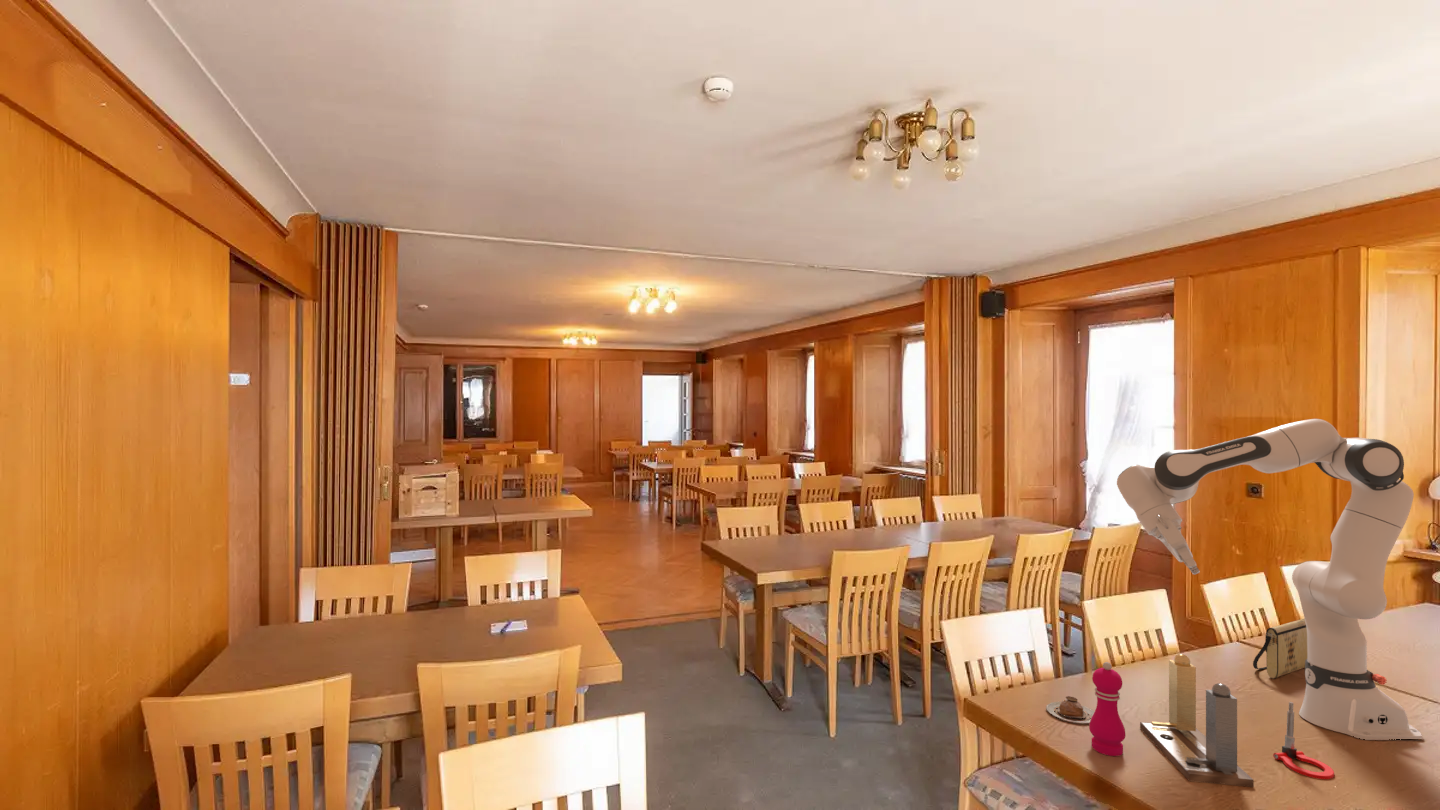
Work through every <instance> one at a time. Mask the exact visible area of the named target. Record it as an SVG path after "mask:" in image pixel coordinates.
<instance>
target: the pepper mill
mask: <svg viewBox="0 0 1440 810" xmlns="http://www.w3.org/2000/svg"><path fill="white" fill-rule="evenodd" d="M1091 679H1092V683H1093V684H1094V685H1095V688H1094V691H1095V692H1094V695H1095V696H1096V700H1097V701H1096V707H1095V710H1094V714H1093V716H1092V718H1091V720H1090V723H1089V724H1088V726H1089V732H1090V734H1091V736H1093V737H1092V738H1091V747H1092V749H1093V750H1094V751H1096V752H1098V753H1099V754H1102V755H1105V756H1110V757H1120V756H1122V755H1123V754H1124V744H1123V743H1122V742H1123V741H1124V740H1125V738H1126V728H1125V725H1124V724H1123V721H1122V718H1121V717H1120V715H1119V710H1118V701H1119V700H1121V697H1120V694H1121V693H1120V690H1121V689H1122V687H1123V679H1122V676H1121V675H1120V673H1118V672H1117V671H1116V670H1114V669H1112V664H1111V663H1110V662H1108V661H1104V662H1103V663H1102V667H1099V668H1097V669H1095V670H1094V672H1093V673H1092V677H1091Z"/></svg>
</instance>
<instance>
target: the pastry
mask: <svg viewBox="0 0 1440 810" xmlns="http://www.w3.org/2000/svg"><path fill="white" fill-rule="evenodd" d="M1045 707H1046V708H1045V709H1046V711H1047V712H1048V713H1049V715H1051V714H1052V716H1053V717H1055V718H1056V717H1057V718H1056V719H1058V718H1059V719H1058V720H1060V719H1061V720H1060V721H1062V720H1065V721H1064V722H1066V721H1069V722H1068V723H1070V722H1073V723H1072V724H1088V725H1089V724H1090V720H1091V719H1090V718H1089V719H1090V720H1089V719H1088V720H1083V719H1085V718H1086V717H1087V715H1088V714H1090V716H1091V718H1092V716H1093V714H1094V712H1095V710H1093V709H1091V708H1090V707H1088V706H1085V705H1082V704H1081V703H1080V702H1079V701H1078V699H1077V698H1076V697H1074V696H1069V695H1067V696H1065V699H1062V700H1061V701H1054V702H1050V703H1048V704H1047V705H1046V706H1045ZM1056 707H1059V708H1058V709H1057V712H1058V713H1059V715H1058V714H1057V713H1056V711H1055V712H1054V709H1055V708H1056ZM1084 711H1086V712H1087V713H1088V714H1086V713H1085V712H1084ZM1060 714H1061V715H1060ZM1062 715H1063V716H1062ZM1064 715H1065V716H1066V717H1064ZM1069 717H1071V718H1070V719H1068V718H1069ZM1076 718H1079V719H1080V720H1081V721H1080V720H1079V719H1078V720H1079V721H1078V720H1071V719H1076ZM1082 718H1083V719H1082Z"/></svg>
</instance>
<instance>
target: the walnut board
mask: <svg viewBox="0 0 1440 810" xmlns="http://www.w3.org/2000/svg"><path fill="white" fill-rule="evenodd" d="M1142 723H1147V722H1144V721H1140V723H1139V728H1141V729H1140V730H1141V731H1142V732H1143V733H1144V734H1145V735H1146V736H1147V737H1148V738H1149V739H1150V740H1151V742H1152V743H1153V744H1154V745H1155V746H1156V747H1157V748H1158V749H1159V750H1160V751H1161V753H1162V754H1163V755H1164V756H1166V758H1167V759H1168V760H1169V761H1170V762H1171V763H1172V764H1173V765H1174V766H1175V767H1176V768H1177V770H1178V771H1180V773H1181V774H1182V775H1183V776H1184V777H1185V778H1186V779H1187V780H1188V782H1198V783H1206V784H1207V783H1208V784H1216V785H1217V784H1219V785H1228V786H1229V785H1230V786H1239V787H1240V786H1241V787H1247V788H1248V787H1250V788H1251V787H1252V788H1254V787H1255V786H1254V781H1255V780H1254V778H1252V777H1251V776H1250V775H1249V773H1247V772H1246V771H1245V770H1243V769H1242V768H1241V767H1240V766H1239V765H1238V764H1237V773H1235V772H1231V773H1232V774H1233V775H1225V774H1224V773H1223V772H1222V771H1216V770H1215V769H1214V768H1213V767H1212V766H1211V765H1206V766H1207V767H1208V768H1209V769H1210V770H1211V771H1212V772H1213V774H1211V773H1201V772H1190V771H1186V770H1185V769H1184V768H1183V767H1182V766H1181V765H1180V763H1179V762H1178V761H1177V760H1176V759H1175V758H1174V757H1173V756H1172V755H1171V754H1170V753H1169V752H1168V751H1167V750H1166V749H1165V748H1164V747H1163V746H1162V745H1161V743H1160V742H1159V741H1158V740H1157V739H1156V738H1155V737H1154V736H1153V735H1152V734H1151V733H1150V732H1149V731H1148V730H1147V729H1146V728H1145V727H1144V726H1143V724H1142ZM1168 728H1169V729H1170V730H1171V731H1172V732H1173V733H1174V734H1175V735H1176V736H1177V737H1178V738H1179V739H1180V740H1181V741H1182V742H1183V743H1184V744H1185V745H1186V746H1187V747H1188V748H1189V749H1190V750H1191V751H1192V752H1193V753H1194V754H1195V755H1196V756H1197V757H1198V758H1204V759H1206V756H1205V755H1204V754H1203V753H1202V752H1201V751H1200V750H1199V749H1197V748H1196V747H1195V746H1194V745H1193V744H1192V743H1191V742H1190V741H1189V740H1188V739H1187V738H1186V737H1185V736H1184V735H1183V734H1182V733H1181V732H1180V731H1179V730H1177V729H1176V728H1173V727H1168ZM1186 731H1187V730H1186ZM1187 732H1188V733H1190V734H1191V735H1192V736H1193V737H1194V738H1195V739H1196V740H1197V741H1198V742H1199V743H1200V744H1201V745H1202V746H1203V747H1205V748H1206V735H1205V734H1204V733H1202V731H1200V730H1199V729H1198V728H1197V727H1196V731H1187Z"/></svg>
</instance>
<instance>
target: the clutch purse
mask: <svg viewBox="0 0 1440 810" xmlns="http://www.w3.org/2000/svg"><path fill="white" fill-rule="evenodd" d="M1264 639H1265V640H1264V641H1265V642H1264V644H1263V646H1262V647H1261V649H1260V650H1259V652H1258V653H1257V654H1256V655H1255V657H1254V659H1253V661H1252V666H1253V668H1254V669H1256V670H1264V669H1265V670H1266V671H1267V675H1268V677H1269V678H1271V680H1272V679H1273V680H1275V679H1276V678H1279V677H1281V676H1285V675H1287V674H1290V673H1293V672H1295V671H1298V670H1302V669H1305V660H1306V659H1307V628H1306V622H1305V618H1304V617H1303V618H1301V619H1297V620H1294V621H1290V622H1287V623H1283V624H1281V625H1280V624H1279V625H1276V626H1272V627H1269V628H1267V629H1266V632H1265V638H1264ZM1265 652H1266V653H1265ZM1264 653H1265V654H1266V666H1264V667H1258V662H1259V659H1260V658H1261V656H1263V655H1264Z"/></svg>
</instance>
